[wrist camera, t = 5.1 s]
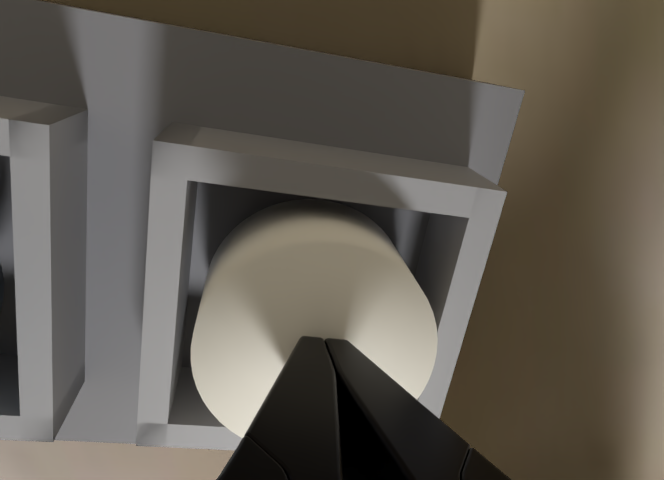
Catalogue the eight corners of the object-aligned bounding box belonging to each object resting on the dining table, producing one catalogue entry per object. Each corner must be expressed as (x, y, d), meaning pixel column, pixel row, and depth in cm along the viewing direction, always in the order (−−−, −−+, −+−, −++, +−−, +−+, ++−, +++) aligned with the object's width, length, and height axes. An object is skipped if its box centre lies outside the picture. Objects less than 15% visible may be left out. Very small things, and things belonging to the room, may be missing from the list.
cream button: (424, 213, 11) (464, 257, 9) (382, 384, 13) (408, 458, 10) (215, 185, 10) (202, 225, 8) (196, 371, 12) (181, 448, 10)
